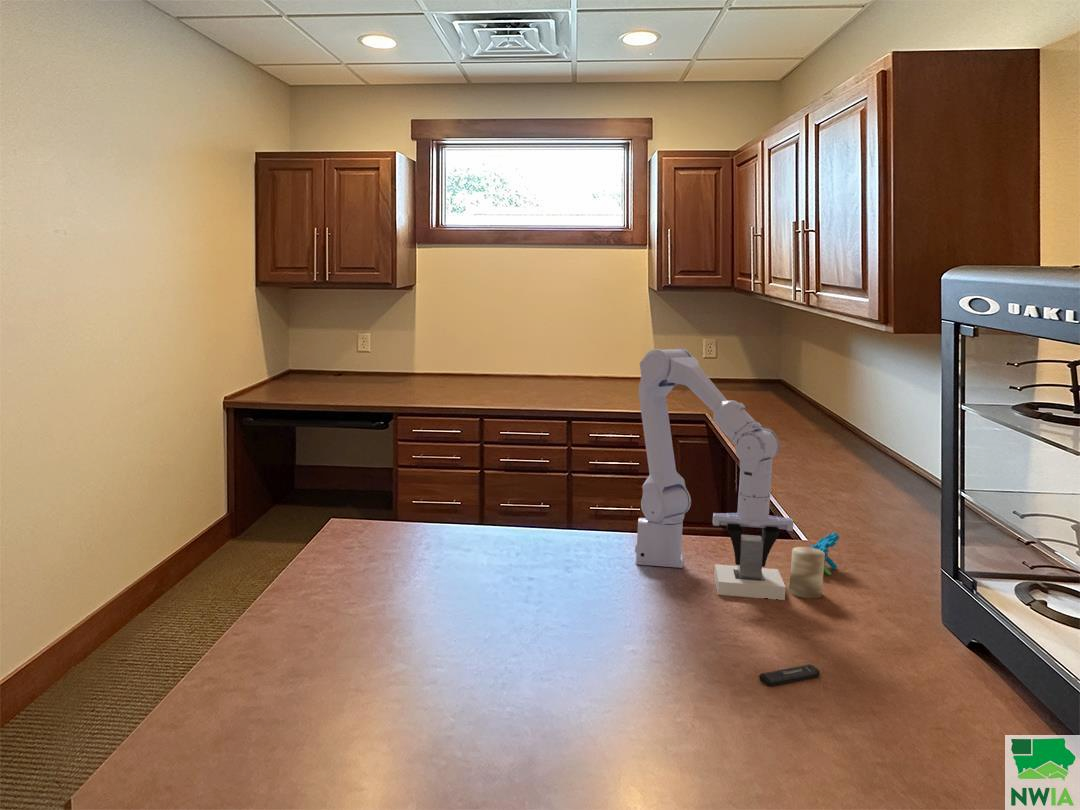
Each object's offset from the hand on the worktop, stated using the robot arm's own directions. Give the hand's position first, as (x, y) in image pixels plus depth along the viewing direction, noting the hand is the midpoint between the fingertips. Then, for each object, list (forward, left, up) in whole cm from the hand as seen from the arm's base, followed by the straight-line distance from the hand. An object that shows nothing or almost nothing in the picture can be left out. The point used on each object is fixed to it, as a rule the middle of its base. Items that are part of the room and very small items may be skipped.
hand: (749, 564), depth 148 cm
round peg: (+10, 0, -5) cm, 12 cm away
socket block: (0, 0, -5) cm, 5 cm away
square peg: (0, 0, -3) cm, 3 cm away
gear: (+16, +16, -5) cm, 23 cm away
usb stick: (+2, -36, -5) cm, 37 cm away
